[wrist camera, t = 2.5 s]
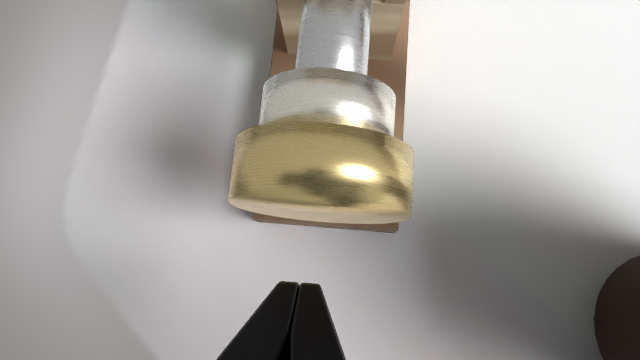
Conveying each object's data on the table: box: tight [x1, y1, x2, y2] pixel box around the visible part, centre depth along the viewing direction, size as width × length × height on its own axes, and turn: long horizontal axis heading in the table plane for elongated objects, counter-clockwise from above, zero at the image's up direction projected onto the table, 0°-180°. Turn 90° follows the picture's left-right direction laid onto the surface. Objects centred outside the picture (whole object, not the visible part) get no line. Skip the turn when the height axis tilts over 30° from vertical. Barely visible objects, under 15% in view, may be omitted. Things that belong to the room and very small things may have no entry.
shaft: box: [228, 0, 414, 224], centre depth 14 cm, size 9×5×5 cm, turn 175°
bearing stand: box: [254, 0, 410, 233], centre depth 16 cm, size 13×6×10 cm, turn 175°
